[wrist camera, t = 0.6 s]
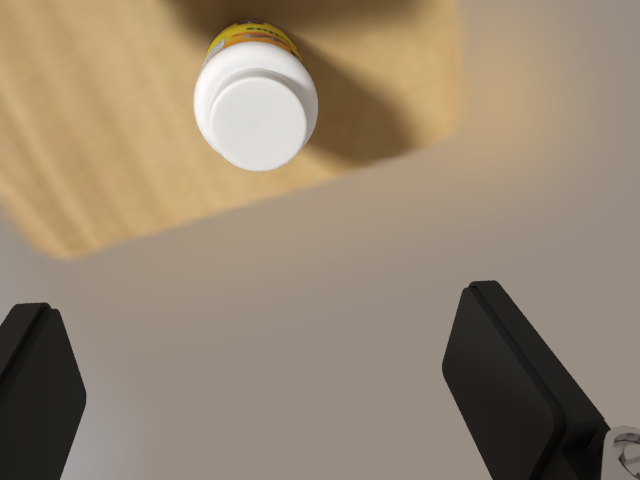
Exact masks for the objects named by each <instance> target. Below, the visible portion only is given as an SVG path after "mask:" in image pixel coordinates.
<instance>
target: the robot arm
mask: <svg viewBox="0 0 640 480" xmlns="http://www.w3.org/2000/svg"><path fill="white" fill-rule="evenodd" d="M442 371H443V376H444V378H445V380H446V383H447V384H448V387H449V389H450V391H451V393H452V395H453V397H454V399H455V401H456V404H457V406H458V408H459V410H460V412H461V414H462V416H463V418H464V420H465V422H466V425H467V427H468V429H469V431H470V433H471V435H472V437H473V439H474V441H475V443H476V446H477V448H478V450H479V452H480V454H481V456H482V458H483V460H484V462H485V465H486V467H487V469H488V471H489V473H490V475H491V477H492V479H493V480H640V429H638V428H635V427H628V426H620V427H616V428H612V429H610V427H609V426H608V425H607V423H606V422H605V421H604V418H603V416H602V415H601V414H600V412H599V411H598V410H597V408H596V407H595V406H594V405H593V403H592V402H591V401H590V399H589V398H588V397H587V396H586V394H585V393H584V392H583V390H582V389H581V388H580V387H579V385H578V384H577V383H576V382H575V380H574V379H573V378H572V376H571V375H570V374H569V372H568V371H567V370H566V369H565V367H564V366H563V365H562V363H561V362H560V361H559V360H558V358H557V357H556V356H555V355H554V353H553V352H552V351H551V349H550V348H549V347H548V345H547V344H546V343H545V342H544V340H543V339H542V338H541V336H540V335H539V334H538V333H537V331H536V330H535V329H534V328H533V326H532V325H531V324H530V322H529V321H528V320H527V318H526V317H525V316H524V315H523V313H522V312H521V311H520V310H519V308H518V307H517V306H516V304H515V303H514V302H513V301H512V299H511V298H510V297H509V295H508V294H507V293H506V292H505V290H504V289H503V288H502V287H501V285H500V284H499V283H498V282H497V281H493V280H492V281H474V282H471V283H470V285H469V287H468V288H465V289H463V291H462V294H461V298H460V302H459V305H458V309H457V312H456V316H455V320H454V323H453V327H452V330H451V334H450V337H449V341H448V345H447V348H446V352H445V355H444V359H443V363H442ZM85 405H86V390H85V387H84V384H83V381H82V378H81V375H80V372H79V369H78V366H77V363H76V360H75V357H74V354H73V351H72V348H71V345H70V341H69V339H68V336H67V332H66V329H65V326H64V324H63V320H62V317H61V315H60V312H59V310H57V309H51V307H50V305H49V304H48V303H25V304H16V305H15V306H14V307H13V308H12V309H11V310H10V312H9V314H8V315H7V317H6V318H5V320H4V321H3V323H2V324H1V326H0V480H60V478H61V475H62V472H63V469H64V466H65V464H66V461H67V458H68V455H69V452H70V449H71V446H72V443H73V440H74V437H75V435H76V432H77V429H78V426H79V423H80V420H81V417H82V414H83V412H84V409H85Z"/></svg>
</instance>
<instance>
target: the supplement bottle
mask: <svg viewBox="0 0 640 480" xmlns="http://www.w3.org/2000/svg"><path fill="white" fill-rule="evenodd" d="M194 112H195V117H196V121H197V124H198V126H199V129H200V131H201V133H202V135H203V136H204V138H205V139H206V141H207V142H208V143H209V144H210V145H211V147H212V148H213V149H214V150H215V151H217V152H218V153H219V154H221V155H222V156H223V157H224V158H225V159H227V160H228V161H229V162H231V163H232V164H234V165H236V166H237V167H240V168H242V169H245V170H249V171H257V172H262V171H269V170H273V169H277V168H279V167H281V166H283V165H285V164H286V163H288V162H289V161H290V160H292V159H293V158H294V157H295V156H296V155H297V153H298V152H299V151H300V150H301V149H302V148H303V146H304V145H305V144H306V143H307V141H308V140H309V138H310V137H311V135H312V133H313V131H314V128H315V125H316V121H317V116H318V97H317V93H316V89H315V85H314V83H313V80H312V78H311V76H310V74H309V72H308V70H307V68H306V66H305V64H304V62H303V60H302V58H301V56H300V54H299V52H298V50H297V48H296V47H295V45H294V43H293V42H292V41H291V39H290V38H289V37H288V36H287V35H286V34H285V33H284V32H283V31H282V30H280V29H279V28H277V27H276V26H274V25H272V24H270V23H267V22H264V21H259V20H242V21H238V22H235V23H233V24H231V25H229V26H227V27H226V28H224V29H223V30H222V31H221V32H220V33H219V34H218V35H217V36H216V37H215V38H214V40H213V41H212V43H211V44H210V46H209V49H208V51H207V54H206V57H205V60H204V63H203V66H202V68H201V71H200V74H199V77H198V80H197V83H196V86H195V92H194Z"/></svg>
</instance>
